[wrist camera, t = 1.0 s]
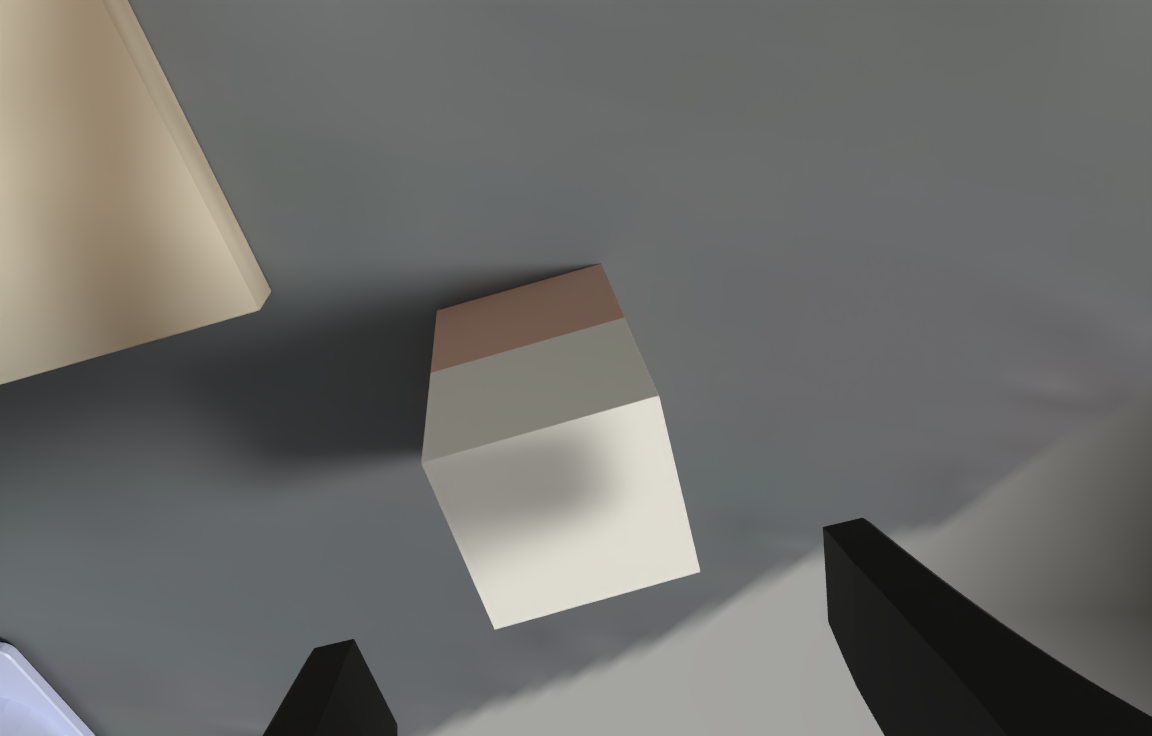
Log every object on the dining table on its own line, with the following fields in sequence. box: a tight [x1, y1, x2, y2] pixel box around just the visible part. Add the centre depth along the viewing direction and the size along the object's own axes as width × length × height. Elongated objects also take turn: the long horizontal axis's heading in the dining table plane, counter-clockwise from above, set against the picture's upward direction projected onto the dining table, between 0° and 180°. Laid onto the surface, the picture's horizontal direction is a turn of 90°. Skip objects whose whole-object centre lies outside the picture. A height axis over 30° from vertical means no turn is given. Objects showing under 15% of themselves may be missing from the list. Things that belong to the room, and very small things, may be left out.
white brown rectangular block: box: [421, 264, 700, 629], centre depth 18 cm, size 4×4×7 cm
